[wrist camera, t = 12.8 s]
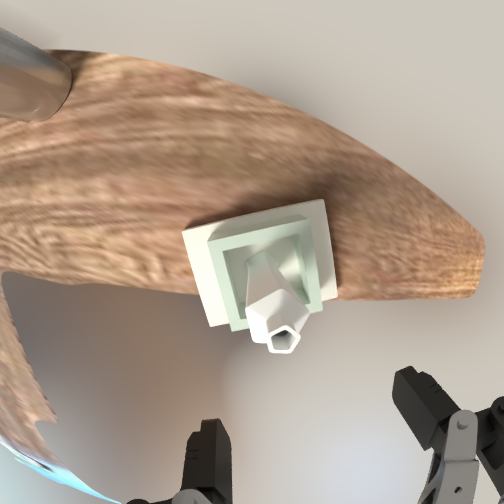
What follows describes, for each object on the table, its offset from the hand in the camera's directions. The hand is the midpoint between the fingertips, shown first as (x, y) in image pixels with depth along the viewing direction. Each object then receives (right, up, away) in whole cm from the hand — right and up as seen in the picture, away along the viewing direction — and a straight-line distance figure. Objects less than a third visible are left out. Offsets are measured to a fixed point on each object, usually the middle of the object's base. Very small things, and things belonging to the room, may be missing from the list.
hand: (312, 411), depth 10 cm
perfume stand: (-1, +6, +22) cm, 23 cm away
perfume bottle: (-2, +5, +21) cm, 21 cm away
